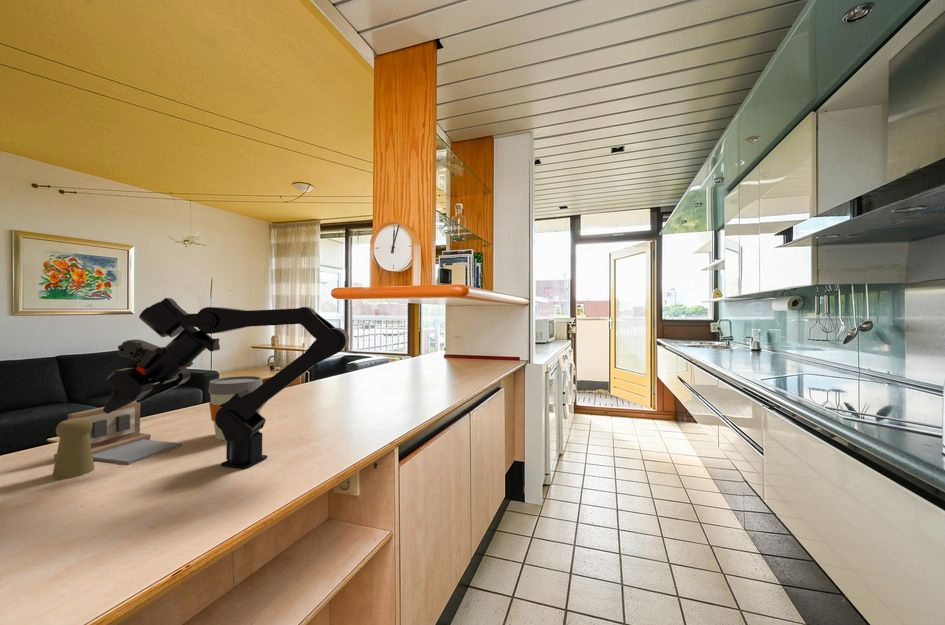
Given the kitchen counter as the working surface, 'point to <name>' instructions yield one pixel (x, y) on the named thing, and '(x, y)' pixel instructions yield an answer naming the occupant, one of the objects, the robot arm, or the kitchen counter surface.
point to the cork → (73, 449)
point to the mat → (135, 451)
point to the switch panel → (112, 427)
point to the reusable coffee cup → (228, 393)
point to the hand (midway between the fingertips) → (121, 406)
